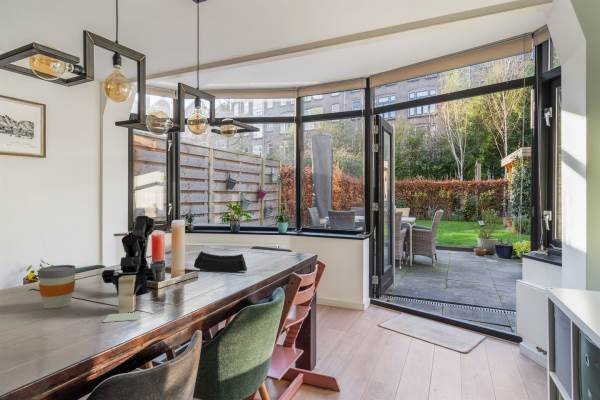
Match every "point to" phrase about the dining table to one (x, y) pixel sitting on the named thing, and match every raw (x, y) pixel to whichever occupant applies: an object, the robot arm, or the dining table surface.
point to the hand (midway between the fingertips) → (126, 294)
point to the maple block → (126, 294)
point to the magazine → (220, 263)
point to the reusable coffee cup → (57, 285)
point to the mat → (122, 317)
